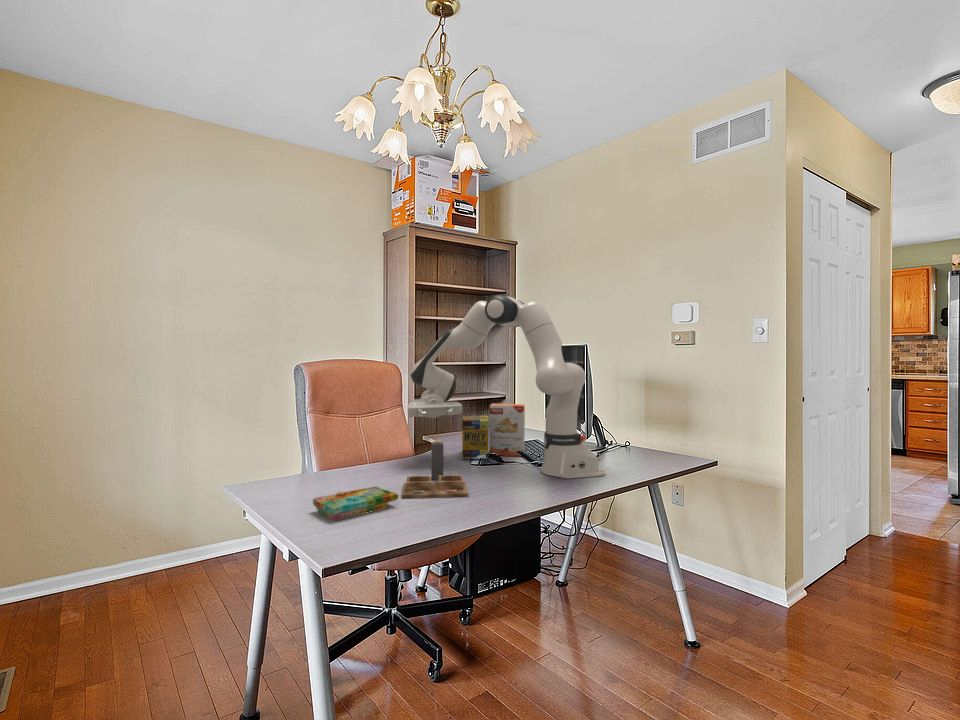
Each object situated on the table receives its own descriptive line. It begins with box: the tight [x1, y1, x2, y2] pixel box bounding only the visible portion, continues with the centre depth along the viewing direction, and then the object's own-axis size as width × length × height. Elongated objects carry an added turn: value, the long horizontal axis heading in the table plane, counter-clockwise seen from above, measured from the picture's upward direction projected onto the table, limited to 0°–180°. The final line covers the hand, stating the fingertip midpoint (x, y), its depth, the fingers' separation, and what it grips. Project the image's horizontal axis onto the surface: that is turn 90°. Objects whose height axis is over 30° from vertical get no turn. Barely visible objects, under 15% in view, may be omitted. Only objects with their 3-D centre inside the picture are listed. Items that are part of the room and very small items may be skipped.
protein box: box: [461, 414, 490, 460], centre depth 218 cm, size 10×15×16 cm
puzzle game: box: [312, 485, 399, 521], centre depth 149 cm, size 12×5×20 cm
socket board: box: [400, 474, 470, 499], centre depth 167 cm, size 20×14×4 cm
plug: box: [430, 439, 444, 480], centre depth 183 cm, size 4×4×13 cm
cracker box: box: [488, 403, 526, 458], centre depth 219 cm, size 14×6×21 cm, turn 81°
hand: (436, 414), depth 192 cm, fingers open, 8 cm apart
